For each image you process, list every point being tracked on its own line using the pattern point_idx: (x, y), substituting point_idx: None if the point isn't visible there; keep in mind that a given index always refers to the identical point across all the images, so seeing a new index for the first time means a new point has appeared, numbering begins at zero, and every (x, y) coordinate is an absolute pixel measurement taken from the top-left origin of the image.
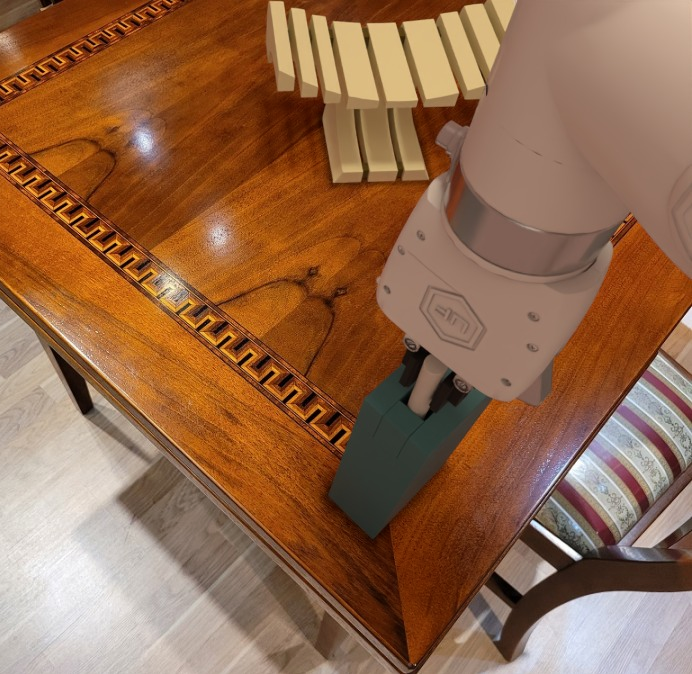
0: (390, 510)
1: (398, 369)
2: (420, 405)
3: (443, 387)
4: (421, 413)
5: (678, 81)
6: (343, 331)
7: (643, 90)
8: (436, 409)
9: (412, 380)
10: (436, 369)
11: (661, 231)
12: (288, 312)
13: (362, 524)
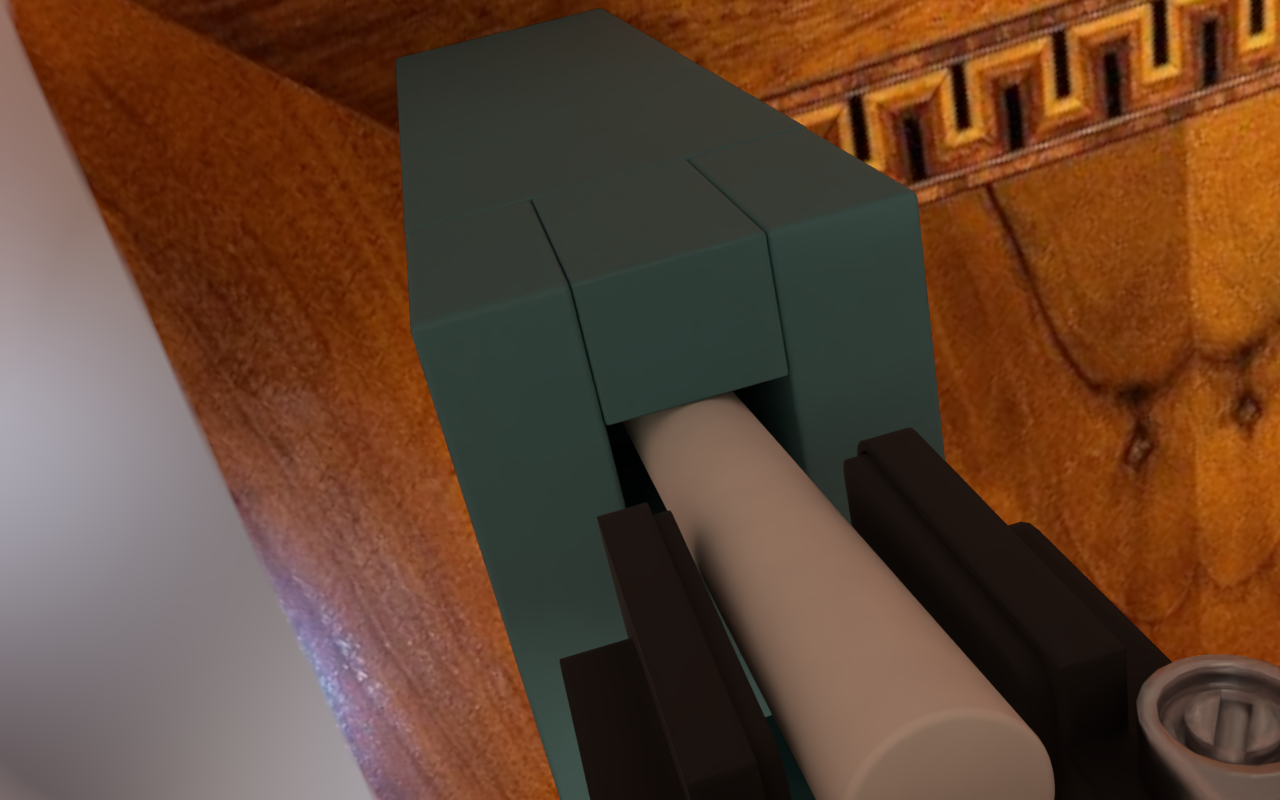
0: (403, 116)
1: None
2: (697, 461)
3: (725, 720)
4: (654, 438)
5: None
6: (1031, 383)
7: None
8: (614, 540)
9: (879, 516)
10: (908, 787)
11: None
12: (1193, 263)
13: (451, 50)
